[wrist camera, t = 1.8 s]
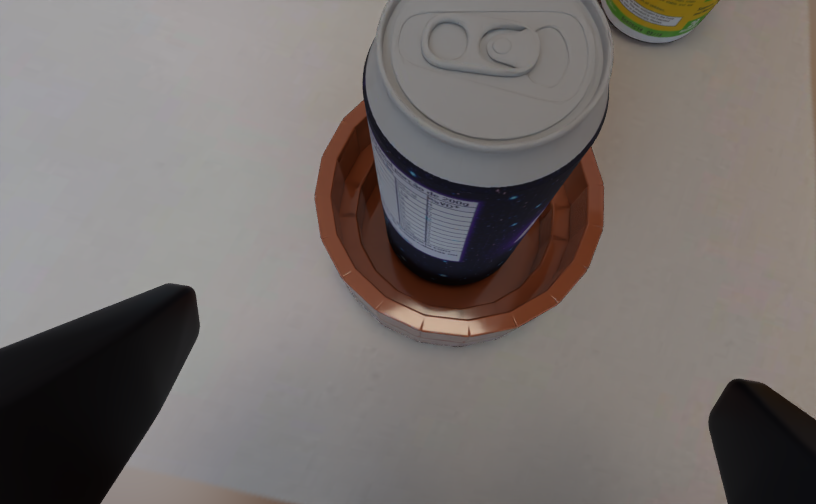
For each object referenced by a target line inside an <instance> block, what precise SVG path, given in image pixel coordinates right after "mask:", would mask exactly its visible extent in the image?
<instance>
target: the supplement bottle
mask: <svg viewBox="0 0 816 504" xmlns="http://www.w3.org/2000/svg"><path fill="white" fill-rule="evenodd" d="M718 2H719V0H601V3H602V7H603V9H604V11H605V14H606V15H607V17H608V18H609V20H610V21H611V22H612V24H613V25H614V26H615V27H617V28H618V29H619V30H620V31H622V32H623V33H625V34H627V35H628V36H630V37H632V38H635V39H638V40H641V41H645V42H651V43H665V42H671V41H674V40H677V39H679V38H682V37H684V36H685V35H687V34H688V33H690V32H691V31H692V30H693V29H694V28H695V27H696V26H697V25H698V24H699V23H700V22H701V21H702V20H703V19H704V17H705V16H706V15H707V14H708V13H709V12H710V11H711V9H712V8H713V7H714V6H715V5H716V4H717V3H718Z"/></svg>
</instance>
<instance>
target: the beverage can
mask: <svg viewBox="0 0 816 504" xmlns="http://www.w3.org/2000/svg"><path fill="white" fill-rule="evenodd" d="M612 66H613V40H612V35H611V30H610V27H609V24H608V21H607V19H606V16H605V14H604V12H603V10H602V9H601V7H600V5H599V4H598V2H597V0H389V1H388V2H387V4H386V6H385V8H384V10H383V12H382V15H381V18H380V21H379V24H378V28H377V33H376V37H375V39H374V41H373V43H372V45H371V47H370V49H369V52H368V55H367V58H366V61H365V66H364V72H363V97H364V103H365V109H366V114H367V120H368V126H369V132H370V137H371V143H372V149H373V155H374V160H375V166H376V172H377V178H378V183H379V189H380V195H381V201H382V206H383V212H384V218H385V224H386V229H387V235H388V238H389V242H390V244H391V246H392V249H393V251H394V252H395V254H396V255H397V257H398V258H399V260H400V261H401V262H402V263H403V264H404V265H405V266H406V267H407V268H408V269H409V270H410V271H412V272H413V273H414V274H416V275H418V276H419V277H421V278H423V279H425V280H427V281H430V282H433V283H437V284H442V285H451V286H457V285H466V284H471V283H474V282H477V281H480V280H482V279H484V278H486V277H488V276H490V275H491V274H493V273H494V272H495V271H497V270H498V269H499V268H500V267H501V266H502V265H503V264H504V263H505V262H506V260H507V259H508V258H509V256H510V255H511V254H512V252H513V251H514V250H515V248H516V247H517V246H518V244H519V243H520V242H521V240H522V239H523V238H524V236H525V235H526V233H527V232H528V231H529V229H530V228H531V227H532V225H533V224H534V223H535V221H536V220H537V219H538V217H539V216H540V215H541V213H542V212H543V211H544V209H545V208H546V206H547V205H548V204H549V202H550V201H551V200H552V198H553V197H554V196H555V194H556V193H557V192H558V190H559V189H560V188H561V186H562V185H563V184H564V182H565V181H566V179H567V178H568V177H569V175H570V174H571V173H572V171H573V170H574V169H575V167H576V166H577V165H578V163H579V162H580V161H581V159H582V158H583V157H584V155H585V154H586V152H587V151H588V150H589V148H590V147H591V146H592V144H593V143H594V141H595V139H596V138H597V136H598V134H599V132H600V130H601V128H602V125H603V123H604V120H605V116H606V113H607V107H608V100H609V80H610V76H611V72H612Z"/></svg>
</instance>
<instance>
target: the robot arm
mask: <svg viewBox="0 0 816 504" xmlns="http://www.w3.org/2000/svg"><path fill="white" fill-rule="evenodd" d="M199 329H200V322H199V315H198V307H197V300H196V294H195V291H194V289H193V288H191V287H190V286H185V285H179V284H173V283H168V284H164V285H162V286H159V287H157V288H154V289H152V290H149V291H147V292H144V293H141V294H139V295H136V296H134V297H131V298H129V299H126V300H124V301H121V302H118V303H116V304H113V305H111V306H108V307H106V308H103V309H101V310H98V311H95V312H93V313H90V314H88V315H85V316H83V317H80V318H78V319H75V320H72V321H70V322H67V323H65V324H62V325H60V326H57V327H54V328H52V329H49V330H47V331H44V332H42V333H39V334H37V335H34V336H31V337H29V338H26V339H24V340H21V341H19V342H16V343H14V344H11V345H8V346H6V347H3V348H1V349H0V504H100V503H101V502H102V500H103V499H104V497H105V496H106V494H107V493H108V491H109V489H110V488H111V486H112V485H113V483H114V482H115V480H116V479H117V477H118V476H119V474H120V473H121V471H122V470H123V468H124V466H125V465H126V463H127V462H128V460H129V459H130V457H131V456H132V454H133V453H134V451H135V450H136V448H137V446H138V445H139V443H140V442H141V440H142V439H143V437H144V436H145V434H146V433H147V431H148V430H149V428H150V426H151V425H152V423H153V422H154V420H155V418H156V417H157V415H158V413H159V412H160V410H161V408H162V406H163V404H164V402H165V400H166V398H167V396H168V395H169V393H170V391H171V389H172V387H173V385H174V383H175V381H176V379H177V377H178V375H179V373H180V371H181V369H182V367H183V365H184V363H185V361H186V359H187V357H188V355H189V353H190V351H191V349H192V347H193V345H194V343H195V341H196V339H197V337H198V334H199ZM708 423H709V431H710V435H711V439H712V443H713V447H714V450H715V454H716V458H717V462H718V466H719V470H720V474H721V478H722V482H723V486H724V490H725V494H726V498H727V502H728V504H816V420H815V419H814V418H812V417H811V416H809V415H808V414H807V413H805V412H804V411H802V410H801V409H799V408H798V407H797V406H795V405H794V404H792V403H791V402H789V401H788V400H787V399H785V398H784V397H782V396H781V395H780V394H778V393H777V392H775V391H774V390H772V389H771V388H770V387H768V386H767V385H765V384H763V383H760V382H756V381H750V380H744V379H734V380H732V381H730V382H729V383H728V384H727V386H726V388H725V389H724V391H723V393H722V394H721V396H720V397H719V399H718V401H717V402H716V404H715V406H714V407H713V409H712V410H711V413H710V416H709V421H708Z"/></svg>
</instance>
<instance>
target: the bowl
mask: <svg viewBox="0 0 816 504" xmlns="http://www.w3.org/2000/svg"><path fill="white" fill-rule="evenodd" d="M315 204H316V211H317V217H318V224H319V230H320V237H321V239H322V242H323V244H324V246H325V248H326V250H327V252H328V254H329V255H330V257H331V259H332V261H333V263H334V265H335V267H336V269H337V271H338V272H339V274H340V276H341V278H342V279H343V281H344V282H345V284H346V285H347V287H348V288H349V290H350V291H351V293H352V294H353V296H354V297H355V298H356V300H357V301H358V302H359V303H360V304H361V305H362V306H363V307H364V308H365V309H366V310H367V311H369V312H370V313H371V314H372V315H373V316H374V317H375V318H376V319H377V320H378V321H379V322H380V323H381V324H383V325H384V326H385V327H387V328H389V329H392V330H394V331H396V332H398V333H400V334H402V335H404V336H406V337H409V338H411V339H413V340H415V341H417V342H419V341H420V342H421V343H429V344H437V345H445V346H453V347H462V346H467V345H472V344H477V343H482V342H487V341H492V340H496V339H498V338H500V337H502V336H504V335H506V334H508V333H509V332H511V331H513V330H515V329H517V328H518V327H520V326H522V325H524V324H525V323H527V322H529V321H531V320H532V319H534V318H536V317H537V316H539V315H541V314H543V313H544V312H546V311H548V310H550V309H551V308H553V307H555V306H556V305H557V304H559V303H560V302H561V301H562V300H563V298H564V297H565V296H566V295H567V294H568V293H569V291H570V290H571V289H572V288H573V287H574V286H575V284H576V283H577V282H578V281H579V280H580V279H581V277H582V276H583V275H584V274H585V273H586V271H587V269H588V268H589V266H590V263H591V260H592V258H593V255H594V252H595V250H596V247H597V244H598V242H599V239H600V236H601V234H602V231H603V220H604V186H603V181H602V178H601V175H600V172H599V169H598V166H597V163H596V160H595V157H594V154H593V151H592V148H591V147H590V148H589V150H588V151H587V152H586V154H585V155H584V157H583V158H582V159H581V161H580V162H579V163H578V165H577V166H576V167H575V169H574V170H573V171H572V173H571V174H570V175H569V177H568V178H567V179H566V181H565V182H564V184H563V185H562V186H561V188H560V189H559V190H558V192H557V193H556V194H555V196H554V197H553V198H552V200H551V201H550V202H549V204H548V205H547V206H546V208H545V209H544V211H543V212H542V213H541V215H540V216H539V217H538V219H537V220H536V221H535V223H534V224H533V225H532V227H531V228H530V229H529V231H528V232H527V233H526V235H525V236H524V238H523V239H522V240H521V242H520V243H519V244H518V246H517V247H516V248H515V250H514V251H513V252H512V254H511V255H510V256H509V258H508V259H507V260H506V262H505V263H504V264H503V265H502V266H501V267H500V268H499V269H498V270H497V271H495V272H494V273H493V274H491V275H490V276H488V277H486V278H484V279H482V280H480V281H477V282H474V283H471V284H466V285H457V286H451V285H442V284H437V283H433V282H430V281H427V280H425V279H423V278H421V277H419V276H418V275H416V274H414V273H413V272H412V271H410V270H409V269H408V268H407V267H406V266H405V265H404V264H403V263H402V262H401V261H400V260H399V258H398V257H397V255H396V254H395V252H394V251H393V249H392V246H391V244H390V242H389V238H388V235H387V229H386V224H385V218H384V212H383V206H382V201H381V195H380V189H379V183H378V178H377V172H376V166H375V160H374V155H373V149H372V143H371V137H370V132H369V126H368V120H367V114H366V109H365V103H364V100H363V101H362V102H361V103H360V104H359V105H358V106H356V107H355V108H354V109H353V110H352V111H351V112H350V113H349V114H348V115H347V116H346V117H345V118H343V121H341V123H340V125H339V127H338V129H337V130H336V132H335V134H334V136H333V137H332V139H331V141H330V143H329V145H328V146H327V148H326V150H325V152H324V153H323V156H322V158H321V164H320V169H319V174H318V180H317V185H316V191H315Z"/></svg>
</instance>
